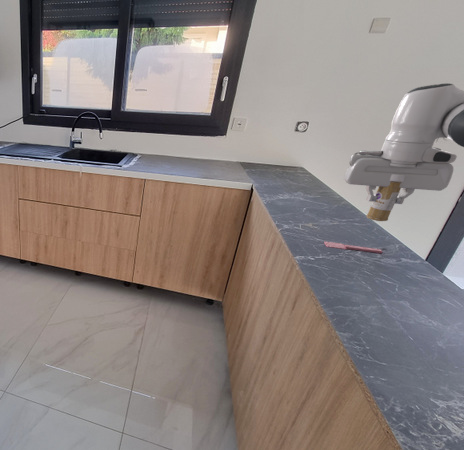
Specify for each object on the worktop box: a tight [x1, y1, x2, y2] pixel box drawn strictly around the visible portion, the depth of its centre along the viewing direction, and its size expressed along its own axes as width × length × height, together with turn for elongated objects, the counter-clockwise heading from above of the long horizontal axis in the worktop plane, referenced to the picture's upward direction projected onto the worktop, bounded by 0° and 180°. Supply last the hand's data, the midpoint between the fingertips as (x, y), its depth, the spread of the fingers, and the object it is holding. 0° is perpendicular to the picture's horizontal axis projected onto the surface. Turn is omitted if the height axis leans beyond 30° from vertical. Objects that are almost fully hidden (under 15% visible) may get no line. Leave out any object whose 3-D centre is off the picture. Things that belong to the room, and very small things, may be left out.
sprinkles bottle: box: [366, 174, 405, 222], centre depth 86 cm, size 5×5×13 cm
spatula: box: [323, 241, 383, 255], centre depth 99 cm, size 14×4×1 cm, turn 65°
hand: (383, 202), depth 86 cm, fingers closed on sprinkles bottle, 4 cm apart
